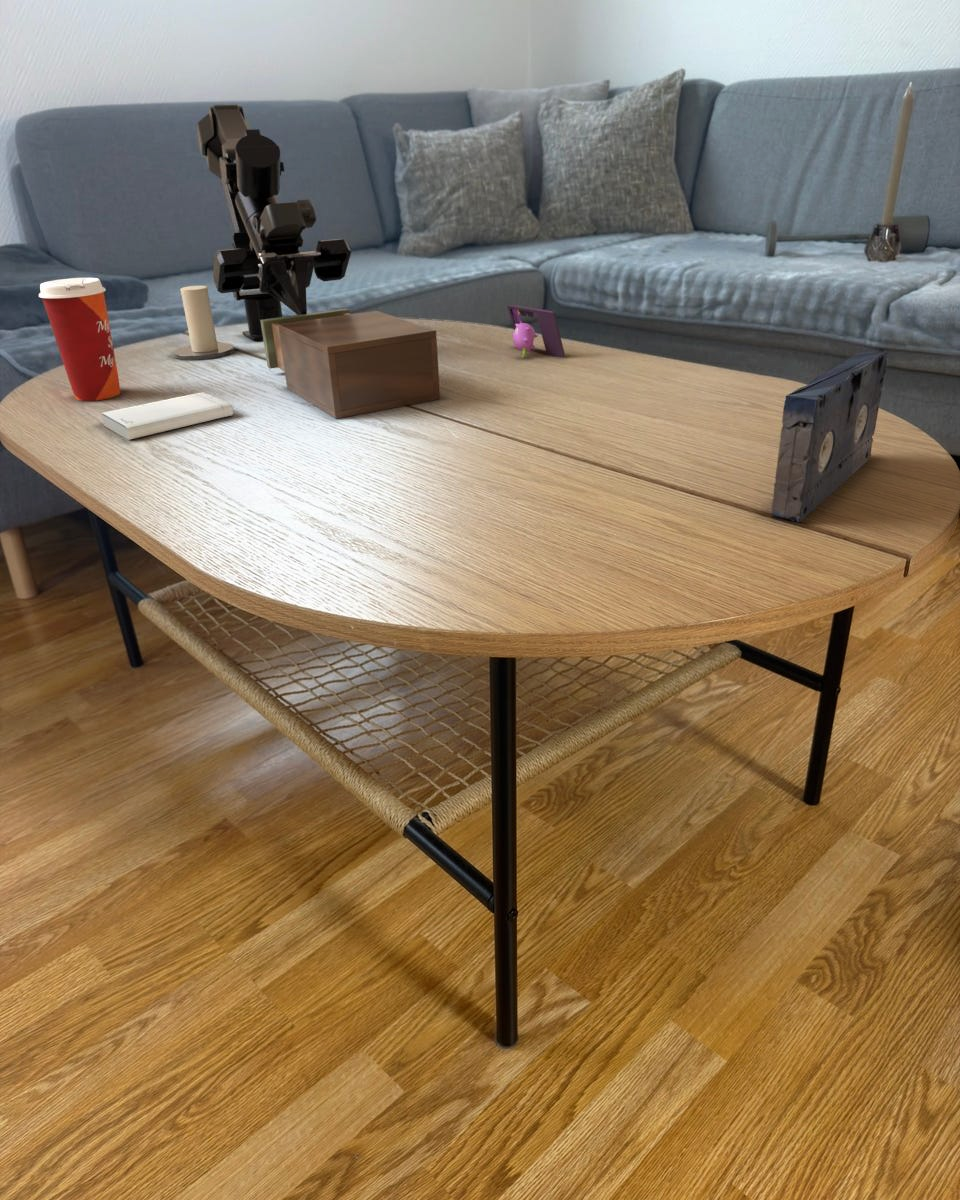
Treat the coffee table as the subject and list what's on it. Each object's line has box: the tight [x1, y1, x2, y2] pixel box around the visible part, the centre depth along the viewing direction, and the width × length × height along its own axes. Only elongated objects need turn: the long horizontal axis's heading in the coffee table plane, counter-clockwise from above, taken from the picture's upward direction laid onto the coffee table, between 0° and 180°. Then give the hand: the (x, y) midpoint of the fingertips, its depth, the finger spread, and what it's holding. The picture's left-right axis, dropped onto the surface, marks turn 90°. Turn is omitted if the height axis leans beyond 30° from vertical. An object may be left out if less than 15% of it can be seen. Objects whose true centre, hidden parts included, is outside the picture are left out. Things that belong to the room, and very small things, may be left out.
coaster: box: [172, 342, 235, 361], centre depth 133 cm, size 9×9×1 cm
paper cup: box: [38, 277, 121, 402], centre depth 109 cm, size 8×8×14 cm
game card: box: [507, 304, 566, 359], centre depth 122 cm, size 7×5×9 cm
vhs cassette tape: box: [770, 349, 888, 523], centre depth 74 cm, size 18×3×10 cm, turn 140°
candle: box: [180, 285, 218, 353], centre depth 130 cm, size 4×4×9 cm
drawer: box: [260, 308, 351, 372], centre depth 116 cm, size 20×12×6 cm, turn 30°
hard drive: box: [100, 391, 234, 441], centre depth 101 cm, size 2×8×12 cm
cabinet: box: [278, 310, 441, 420], centre depth 107 cm, size 17×14×8 cm
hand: (303, 314), depth 119 cm, fingers closed, pressing on drawer
